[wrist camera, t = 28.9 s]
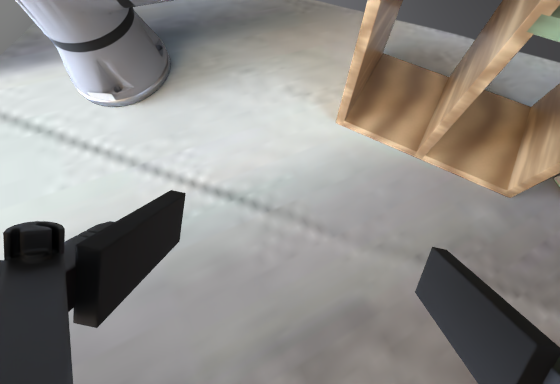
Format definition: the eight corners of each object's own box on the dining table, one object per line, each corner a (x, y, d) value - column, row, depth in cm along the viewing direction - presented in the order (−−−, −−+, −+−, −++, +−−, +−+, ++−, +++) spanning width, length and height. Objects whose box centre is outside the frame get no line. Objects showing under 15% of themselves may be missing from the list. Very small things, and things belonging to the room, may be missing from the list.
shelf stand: (335, 122, 42) (428, -233, 15) (374, 56, 47) (498, -305, 19) (510, 198, 37) (1164, -130, 9) (533, 115, 42) (1009, -262, 14)
